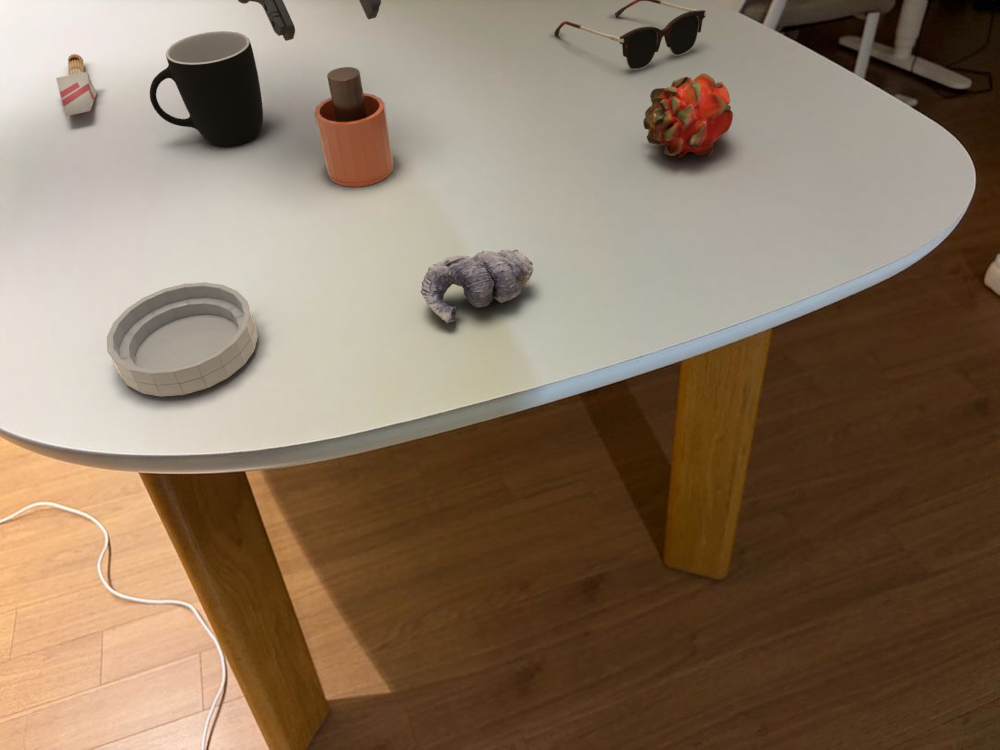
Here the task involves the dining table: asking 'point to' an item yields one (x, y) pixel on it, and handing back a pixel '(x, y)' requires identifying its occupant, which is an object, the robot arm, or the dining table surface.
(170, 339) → the dish
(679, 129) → the dragon fruit
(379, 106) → the cup
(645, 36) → the sunglasses
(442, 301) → the seashell
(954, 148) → the dining table surface
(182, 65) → the mug
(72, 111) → the churro
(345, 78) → the muddler
